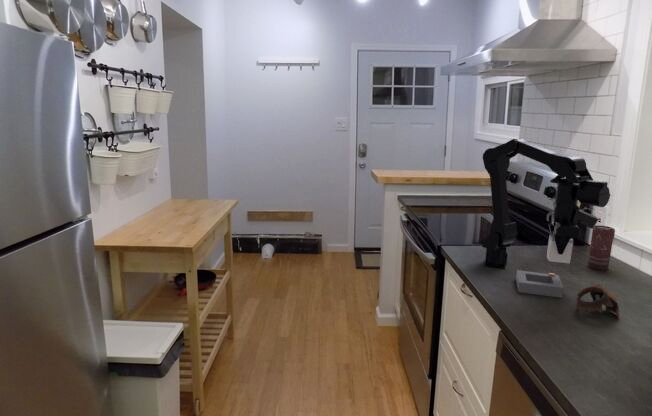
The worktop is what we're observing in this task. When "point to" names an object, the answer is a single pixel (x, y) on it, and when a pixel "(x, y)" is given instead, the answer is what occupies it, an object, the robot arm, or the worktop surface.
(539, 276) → the socket block
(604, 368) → the worktop surface
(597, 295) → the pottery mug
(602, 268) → the can
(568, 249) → the plug
